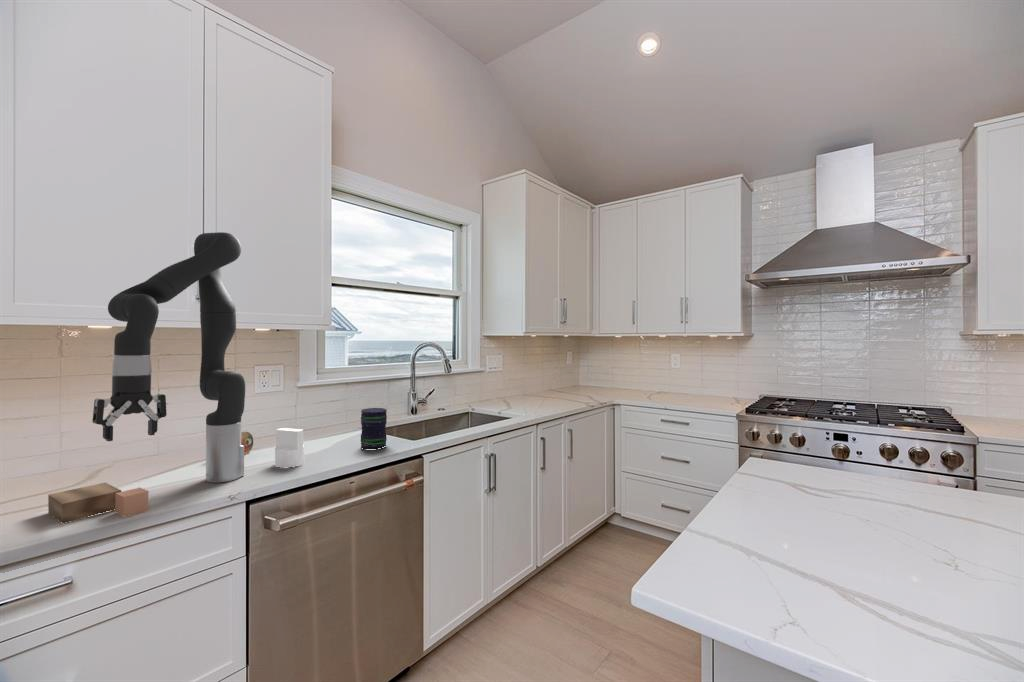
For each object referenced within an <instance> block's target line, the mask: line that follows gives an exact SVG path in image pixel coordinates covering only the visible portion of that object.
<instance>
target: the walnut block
mask: <svg viewBox="0 0 1024 682" xmlns="http://www.w3.org/2000/svg"><path fill="white" fill-rule="evenodd" d="M118 492H122V490H121V489H119V488H117V487H115V486H113V485H111V484H109V483H108V482H102V483H101V482H100V483H97V484H91V485H87V486H82V487H78V488H72V489H68V490H63V491H59V492H58V491H57V492H55V493H54V492H53V493H50V494H47V495H48V497H47V498H48V499H47V500H48V501H47V502H48V504H47V507H48V509H47V510H48V511H47V512H48V514H49V515H50V514H51V515H52V516H51V515H50V516H51V517H53V516H54V517H55V518H54V517H53V518H54V519H55V520H57V519H58V520H59V521H58V520H57V521H58V522H60V523H61V522H62V523H64V524H66V523H65V522H68V523H70V522H69V521H72V522H75V521H78V519H79V520H82V519H81V518H83V519H85V518H84V517H87V518H89V517H88V516H91V515H95V514H98V513H103V512H106V511H110V510H114V509H115V493H118ZM103 514H104V513H103ZM95 516H96V515H95ZM91 517H92V516H91ZM74 520H75V521H74ZM62 523H61V524H62Z"/></svg>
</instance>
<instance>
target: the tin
mask: <svg viewBox="0 0 1024 682" xmlns="http://www.w3.org/2000/svg"><path fill="white" fill-rule="evenodd" d="M241 445H243V446H244V454H245V455H247V454H249V453H250V452H251V450H252V449H253V446H254V438H253V435H252V434H251V433H250V432H249V431H241ZM246 453H247V454H246Z"/></svg>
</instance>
